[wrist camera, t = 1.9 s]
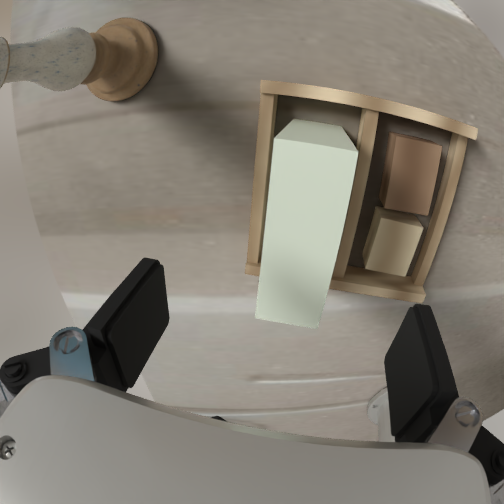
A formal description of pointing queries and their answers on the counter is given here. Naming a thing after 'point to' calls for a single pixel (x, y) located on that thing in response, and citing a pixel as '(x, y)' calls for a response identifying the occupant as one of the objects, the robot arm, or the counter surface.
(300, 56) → the counter surface
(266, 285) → the sage panel
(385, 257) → the pine offcut
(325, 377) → the counter surface
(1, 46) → the candle holder
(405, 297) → the oak rack
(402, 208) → the walnut offcut
